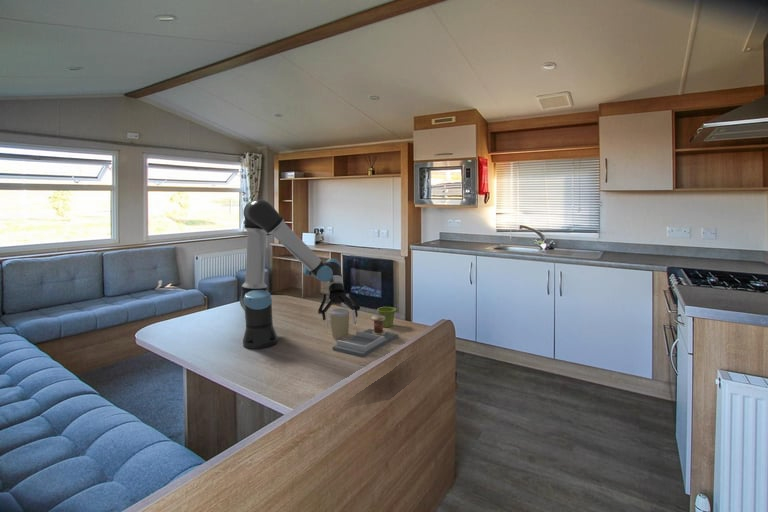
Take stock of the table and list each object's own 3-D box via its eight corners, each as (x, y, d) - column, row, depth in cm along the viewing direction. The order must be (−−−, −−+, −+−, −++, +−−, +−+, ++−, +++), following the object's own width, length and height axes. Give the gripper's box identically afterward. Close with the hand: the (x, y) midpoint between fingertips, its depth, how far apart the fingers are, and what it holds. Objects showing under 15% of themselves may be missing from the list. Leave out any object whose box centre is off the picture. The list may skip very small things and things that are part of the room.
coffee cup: (351, 332, 200) (350, 308, 198) (348, 339, 190) (347, 314, 189) (332, 332, 201) (331, 308, 199) (328, 338, 191) (327, 313, 190)
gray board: (363, 357, 169) (362, 349, 168) (332, 350, 177) (332, 342, 177) (397, 337, 192) (397, 329, 192) (369, 331, 201) (369, 324, 200)
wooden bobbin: (374, 336, 189) (374, 319, 187) (369, 332, 195) (369, 316, 193) (387, 334, 191) (387, 318, 190) (382, 330, 197) (382, 314, 196)
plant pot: (385, 321, 216) (385, 305, 215) (399, 325, 210) (399, 308, 209) (373, 326, 209) (373, 309, 208) (388, 329, 203) (388, 312, 202)
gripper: (359, 288, 213) (366, 325, 200) (310, 292, 207) (314, 330, 194) (361, 280, 207) (368, 317, 194) (311, 284, 201) (315, 322, 188)
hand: (341, 324), depth 194 cm, fingers open, 13 cm apart
